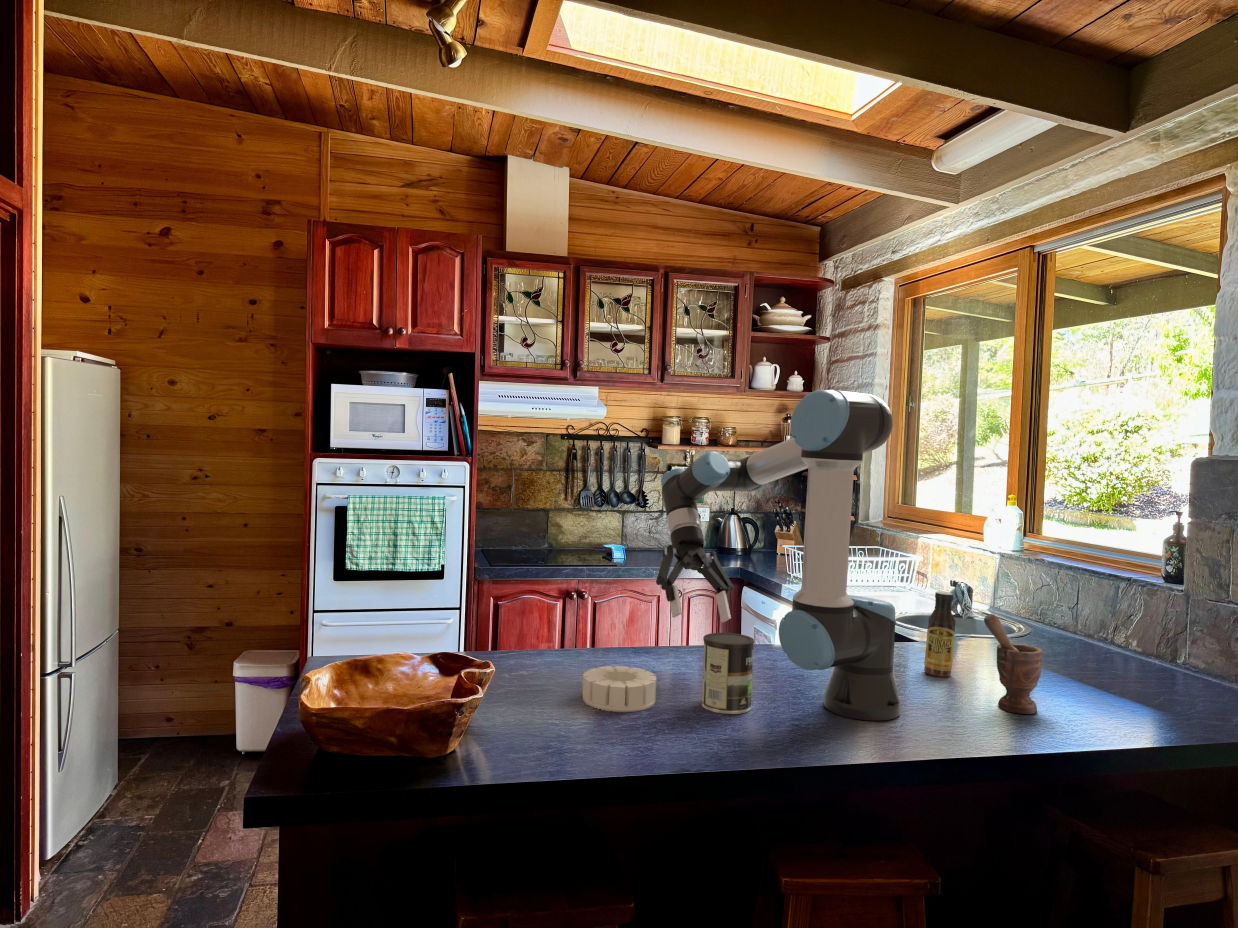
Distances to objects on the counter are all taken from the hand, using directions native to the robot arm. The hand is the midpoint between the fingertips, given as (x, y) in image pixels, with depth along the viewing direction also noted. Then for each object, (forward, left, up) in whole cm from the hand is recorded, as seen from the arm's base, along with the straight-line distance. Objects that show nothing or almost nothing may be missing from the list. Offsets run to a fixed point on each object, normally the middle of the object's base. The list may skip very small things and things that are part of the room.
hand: (702, 617), depth 180 cm
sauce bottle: (-58, -21, -15) cm, 63 cm away
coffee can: (-5, +12, -15) cm, 20 cm away
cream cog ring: (+17, +12, -15) cm, 26 cm away
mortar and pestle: (-65, +4, -15) cm, 67 cm away
